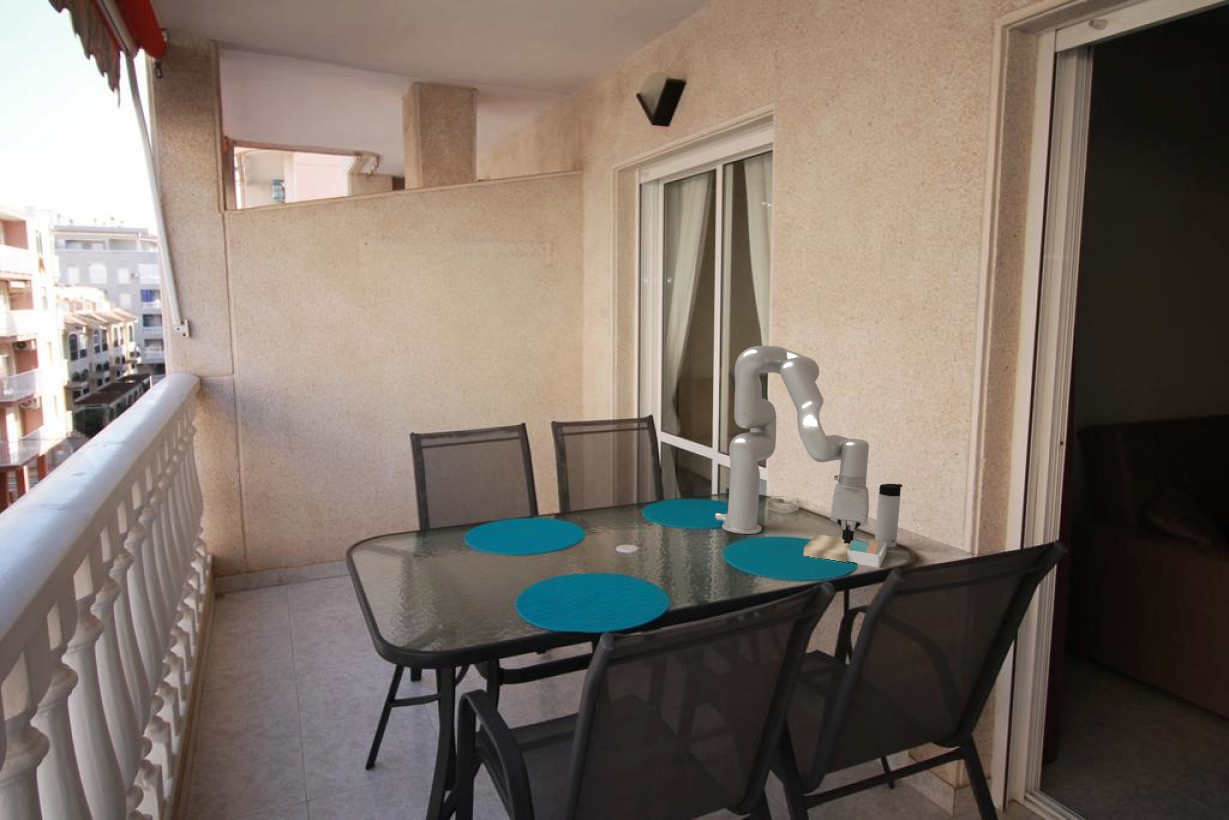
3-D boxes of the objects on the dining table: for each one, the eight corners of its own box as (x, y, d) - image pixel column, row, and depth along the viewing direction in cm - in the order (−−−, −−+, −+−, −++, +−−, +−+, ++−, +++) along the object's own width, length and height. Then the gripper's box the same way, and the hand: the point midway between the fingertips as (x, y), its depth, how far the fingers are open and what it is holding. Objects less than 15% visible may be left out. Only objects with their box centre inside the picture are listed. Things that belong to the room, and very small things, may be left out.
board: (803, 556, 223) (804, 547, 223) (815, 542, 239) (816, 534, 239) (846, 563, 218) (846, 554, 218) (855, 548, 234) (856, 540, 234)
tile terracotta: (869, 541, 221) (878, 545, 220) (871, 538, 225) (880, 541, 224) (864, 555, 222) (872, 559, 221) (866, 552, 226) (874, 555, 225)
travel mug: (898, 551, 233) (904, 486, 231) (875, 549, 235) (881, 484, 233) (895, 545, 239) (900, 482, 237) (873, 543, 241) (878, 480, 239)
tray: (846, 562, 219) (847, 550, 218) (854, 549, 233) (855, 537, 233) (879, 567, 215) (880, 555, 215) (886, 554, 229) (887, 542, 229)
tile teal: (849, 548, 224) (852, 540, 223) (851, 545, 228) (854, 537, 227) (864, 555, 222) (867, 547, 222) (866, 551, 226) (869, 543, 226)
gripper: (824, 480, 224) (819, 541, 226) (877, 486, 218) (872, 550, 220) (828, 476, 231) (823, 536, 233) (880, 482, 224) (875, 544, 226)
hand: (847, 542), depth 226 cm, fingers closed
